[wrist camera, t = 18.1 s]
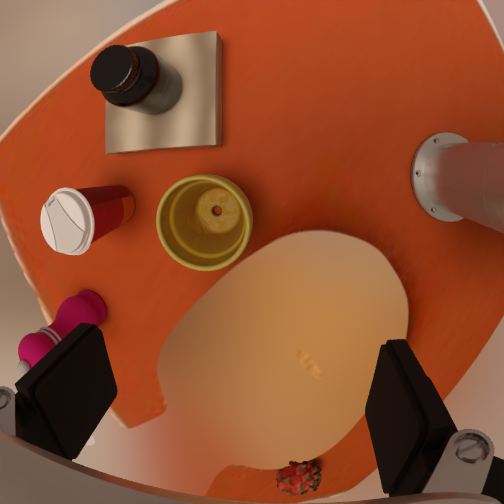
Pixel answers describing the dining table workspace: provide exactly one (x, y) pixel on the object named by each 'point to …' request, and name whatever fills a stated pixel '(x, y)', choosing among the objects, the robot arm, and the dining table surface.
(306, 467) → the dragon fruit
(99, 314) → the pepper mill
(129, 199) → the paper cup
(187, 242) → the plant pot
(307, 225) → the dining table surface
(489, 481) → the robot arm
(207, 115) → the beech block
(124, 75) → the supplement bottle
